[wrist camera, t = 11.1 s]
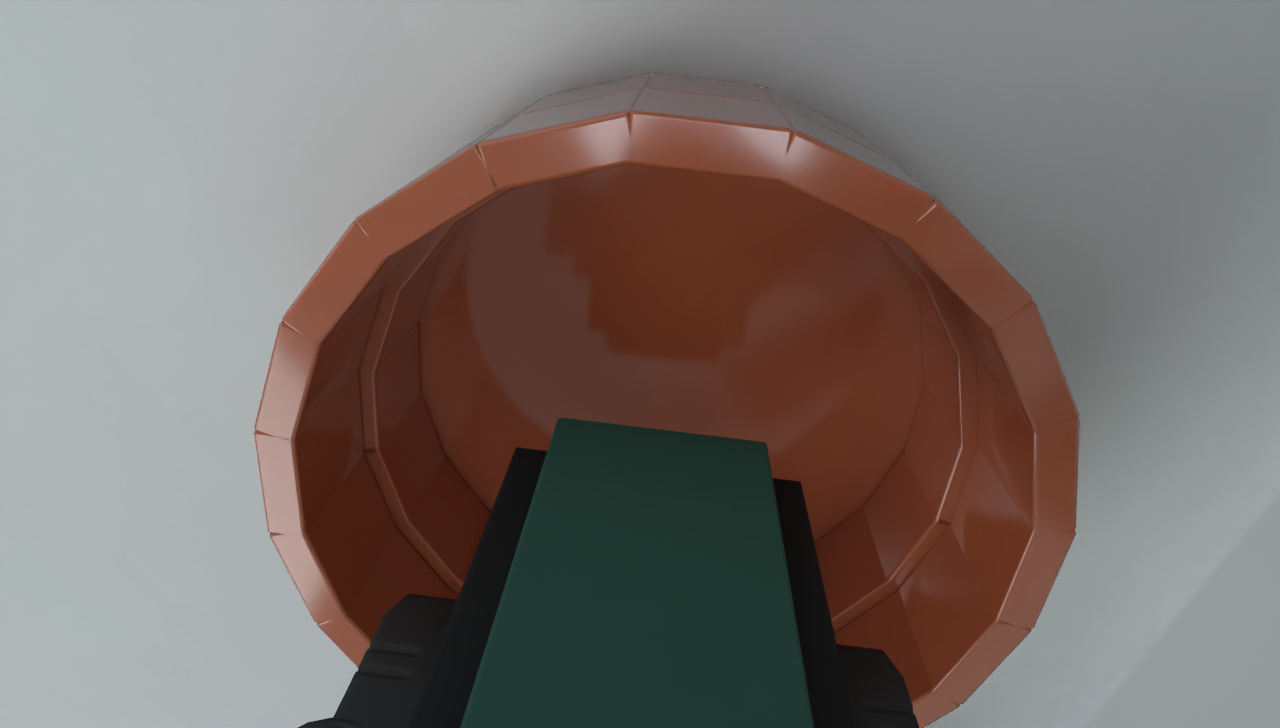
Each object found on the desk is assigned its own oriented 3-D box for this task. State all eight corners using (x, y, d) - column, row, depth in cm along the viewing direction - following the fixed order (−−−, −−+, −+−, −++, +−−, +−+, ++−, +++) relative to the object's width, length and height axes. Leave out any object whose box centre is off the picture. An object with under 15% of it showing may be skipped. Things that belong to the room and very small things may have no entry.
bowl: (1042, 113, 18) (1235, 180, 11) (879, 617, 24) (943, 833, 18) (374, 36, 18) (198, 59, 11) (399, 557, 25) (298, 749, 18)
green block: (767, 440, 14) (865, 1017, 6) (734, 600, 16) (776, 1208, 8) (557, 415, 14) (386, 955, 6) (547, 576, 16) (402, 1159, 8)
